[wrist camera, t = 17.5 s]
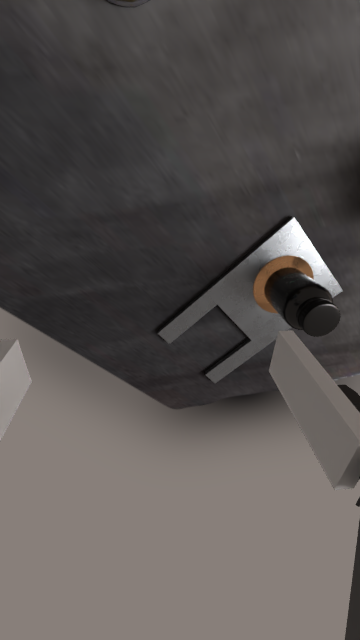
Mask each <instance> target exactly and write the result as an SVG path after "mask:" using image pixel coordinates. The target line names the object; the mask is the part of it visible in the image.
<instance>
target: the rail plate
mask: <svg viewBox="0 0 360 640" xmlns="http://www.w3.org/2000/svg"><path fill="white" fill-rule="evenodd" d="M286 267H292V268H296V269H298V270H300V271H301V272H303V273H304V274H306V275H307V276H309V277H310V278H312V279H313V280H315V281H316V282H318V283H319V284H320V285H322V286H323V287H325V288H326V289H327V290H328V291H329V292H330V294H331V296H332V298H333V297H334V296H336V295H337V294H339V293H340V292H341V291H343V290H342V289H341V287H340V286H339V284H338V283H337V281H336V280H335V278H334V277H333V275H332V274H331V272H330V271H329V269H328V268H327V266H326V265H325V263H324V262H323V260H322V259H321V257H320V255H319V254H318V252H317V251H316V249H315V248H314V246H313V245H312V243H311V242H310V240H309V239H308V237H307V236H306V234H305V233H304V231H303V230H302V228H301V227H300V225H299V224H298V222H297V221H296V219H295V218H294V217H292V216H291V217H290V218H289V219H288V220H287V221H285V222H284V223H283V224H282V225H281V226H280V227H278V228H277V229H276V230H275V231H274V232H273V233H271V234H270V235H269V236H268V237H267V238H265V239H264V240H263V241H262V242H261V243H260V244H258V245H257V246H256V247H255V248H254V249H253V250H251V251H250V252H249V253H248V254H247V255H246V256H244V257H243V258H242V259H241V260H240V261H239V262H237V263H236V264H235V265H234V266H233V267H232V268H230V269H229V270H228V271H227V272H226V273H225V274H223V275H222V276H221V277H220V278H219V279H218V280H216V281H215V282H214V283H213V284H212V285H211V286H209V287H208V288H207V289H206V290H205V291H204V292H202V293H201V294H200V295H199V296H198V297H196V298H195V299H194V300H193V301H192V302H191V303H189V304H188V305H187V306H186V307H185V308H184V309H182V310H181V311H180V312H179V313H178V314H177V315H175V316H174V317H173V318H172V319H171V320H170V321H168V322H167V323H166V324H165V325H164V326H163V327H161V328H160V329H159V330H158V334H159V335H160V336H161V337H162V338H163V339H164V340H166V341H167V342H168V343H169V344H170V343H171V342H172V341H174V340H175V339H176V338H177V337H179V336H180V335H181V334H182V333H183V332H185V331H186V330H187V329H188V328H189V327H191V326H192V325H193V324H194V323H196V322H197V321H198V320H199V319H200V318H202V317H203V316H204V315H205V314H206V313H208V312H209V311H210V310H211V309H213V308H214V307H215V306H216V305H218V306H219V307H220V308H221V309H222V310H223V311H224V312H225V313H226V314H227V315H228V316H229V317H230V318H231V319H232V320H233V322H234V323H235V324H236V325H237V326H238V327H239V328H240V329H241V330H242V331H243V332H244V333H245V334H246V335H247V336H248V337H249V339H247V340H246V341H245V342H243V343H242V344H241V345H239V346H238V347H237V348H235V349H234V350H233V351H231V352H230V353H229V354H227V355H226V356H225V357H223V358H222V359H221V360H219V361H218V362H217V363H215V364H214V365H213V366H211V367H210V368H209V369H207V370H206V371H205V375H206V376H207V377H208V378H209V379H211V380H212V381H213V382H214V383H216V382H218V381H219V380H220V379H222V378H223V377H225V376H226V375H227V374H229V373H230V372H231V371H233V370H234V369H236V368H237V367H238V366H240V365H241V364H242V363H244V362H245V361H247V360H248V359H249V358H251V357H252V356H253V355H255V354H256V353H258V352H259V351H260V350H262V349H263V348H264V347H266V346H267V345H268V344H270V343H271V342H273V341H274V340H275V339H277V336H278V332H279V331H288V330H289V329H290V328H292V327H291V326H289V325H288V324H287V323H286V322H285V321H284V319H283V318H282V317H281V316H280V315H279V314H278V312H277V311H276V310H275V309H274V308H273V307H272V306H271V304H270V303H269V302H268V301H267V299H266V297H265V294H264V288H265V284H266V281H267V280H268V278H269V277H270V276H271V275H272V274H273V273H274V272H275V271H277V270H279V269H281V268H286Z"/></svg>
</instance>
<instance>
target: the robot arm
mask: <svg viewBox="0 0 360 640" xmlns="http://www.w3.org/2000/svg"><path fill="white" fill-rule="evenodd" d="M269 372H270V374H271V376H272V378H273V379H274V381H275V383H276V385H277V387H278V389H279V390H280V392H281V394H282V396H283V398H284V399H285V401H286V403H287V405H288V407H289V408H290V410H291V412H292V414H293V416H294V417H295V419H296V421H297V423H298V425H299V426H300V428H301V430H302V432H303V434H304V436H305V437H306V439H307V441H308V443H309V445H310V447H311V448H312V450H313V452H314V454H315V456H316V457H317V459H318V461H319V463H320V465H321V467H322V468H323V470H324V472H325V474H326V476H327V477H328V479H329V481H330V483H331V485H332V486H333V488H334V490H338V489H349V488H354V487H355V485H356V483H357V482H358V480H359V479H360V396H359V395H358V393H356V392H355V391H354V390H352V389H351V388H349V387H348V386H346V385H337V384H336V383H335V382H334V381H333V379H332V378H331V377H330V376H329V375H328V373H327V372H326V371H325V370H324V368H323V367H322V366H321V365H320V364H319V362H318V361H317V360H316V359H315V357H314V356H313V355H312V354H311V352H310V351H309V350H308V349H307V348H306V346H305V345H304V344H303V343H302V341H301V340H300V339H299V338H298V337H297V335H296V334H295V333H294V332H293V331H279V332H278V336H277V340H276V344H275V348H274V352H273V357H272V361H271V365H270V369H269ZM31 382H32V381H31V379H30V375H29V373H28V369H27V366H26V363H25V361H24V357H23V354H22V351H21V348H20V345H19V342H18V339H5V340H0V440H1V439H2V437H3V435H4V433H5V431H6V429H7V427H8V425H9V423H10V422H11V420H12V418H13V416H14V414H15V412H16V410H17V408H18V406H19V405H20V403H21V401H22V399H23V397H24V395H25V393H26V391H27V390H28V387H29V386H30V384H31ZM356 505H357V506H360V498H359V499H358V501H357V503H356ZM345 640H360V521H359V529H358V537H357V546H356V554H355V563H354V570H353V578H352V586H351V594H350V603H349V611H348V619H347V627H346V635H345Z"/></svg>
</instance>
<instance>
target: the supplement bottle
mask: <svg viewBox="0 0 360 640" xmlns="http://www.w3.org/2000/svg"><path fill="white" fill-rule="evenodd" d="M264 294H265V297H266V299H267V301H268V302H269V303H270V304H271V306H272V307H273V308H274V309H275V310H276V311H277V312H278V314H279V315H280V316H281V317H282V318H283V319H284V321H285V322H286V323H287V324H288V325H289V326H291V327H292V328H295V329H298V330H304V331H305V332H306V333H307V334H308V335H310V336H314V337H315V336H317V337H319V336H323V335H326V334H328V333H329V332H331V331H332V330H334V329H335V327H336V326H337V324H338V323H339V321H340V311H339V310H338V307H336V306H335V305H334V304H333V299H332V296H331V294H330V292H329V291H328V290H327V289H326V288H325V287H323V286H322V285H320V284H319V283H318V282H316V281H315V280H313V279H312V278H310V277H309V276H307V275H306V274H304V273H303V272H301V271H300V270H298V269H296V268H292V267H286V268H281V269H279V270H277V271H275V272H274V273H273V274H272V275H271V276H270V277H269V278H268V280H267V281H266V284H265V288H264Z"/></svg>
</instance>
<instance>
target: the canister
mask: <svg viewBox="0 0 360 640" xmlns="http://www.w3.org/2000/svg"><path fill="white" fill-rule="evenodd" d="M107 1H109V2H110V3H113V4H117V5H120V6H126V7H137V6H139V5H141V4H144V3H146V2H148V1H149V0H107Z"/></svg>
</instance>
